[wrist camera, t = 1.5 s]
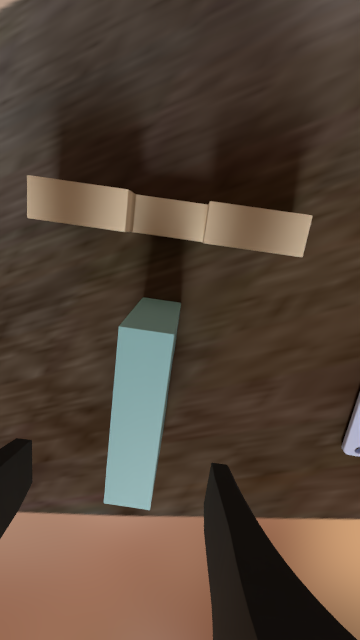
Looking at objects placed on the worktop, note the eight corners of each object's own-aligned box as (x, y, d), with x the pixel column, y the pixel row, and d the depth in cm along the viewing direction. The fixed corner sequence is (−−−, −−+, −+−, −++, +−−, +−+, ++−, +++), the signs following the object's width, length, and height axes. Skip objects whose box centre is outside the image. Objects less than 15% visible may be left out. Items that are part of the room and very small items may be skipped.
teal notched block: (181, 302, 20) (174, 334, 14) (162, 434, 23) (149, 509, 16) (143, 297, 20) (118, 326, 14) (129, 428, 23) (103, 502, 17)
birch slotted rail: (291, 218, 18) (312, 215, 15) (283, 252, 19) (302, 257, 15) (58, 185, 18) (27, 175, 15) (57, 220, 19) (27, 217, 16)
